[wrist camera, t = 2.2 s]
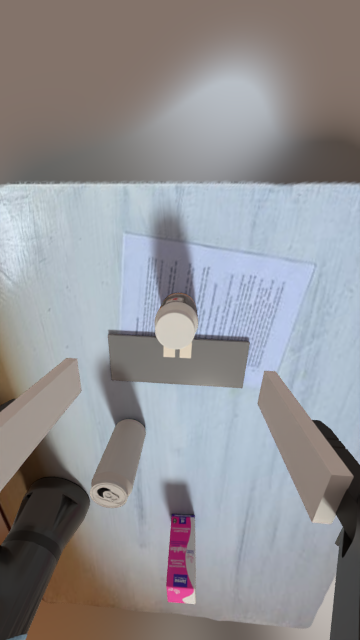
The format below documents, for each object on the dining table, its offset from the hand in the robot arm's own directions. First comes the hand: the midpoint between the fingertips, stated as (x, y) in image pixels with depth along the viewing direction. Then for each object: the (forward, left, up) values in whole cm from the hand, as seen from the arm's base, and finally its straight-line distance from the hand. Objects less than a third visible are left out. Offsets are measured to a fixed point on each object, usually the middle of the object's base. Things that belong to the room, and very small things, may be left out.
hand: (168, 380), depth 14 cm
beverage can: (-9, -26, -19) cm, 33 cm away
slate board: (0, -9, -19) cm, 21 cm away
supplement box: (+3, -55, -19) cm, 58 cm away
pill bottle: (0, 0, -19) cm, 19 cm away
